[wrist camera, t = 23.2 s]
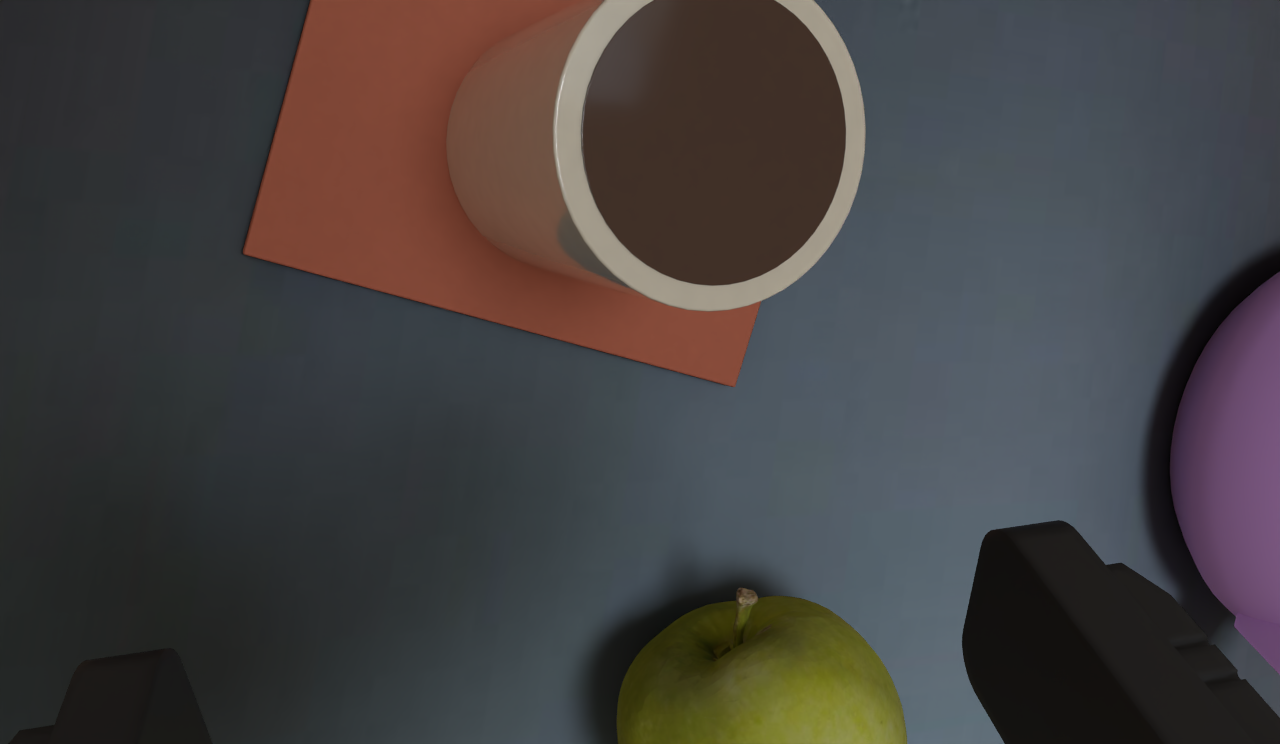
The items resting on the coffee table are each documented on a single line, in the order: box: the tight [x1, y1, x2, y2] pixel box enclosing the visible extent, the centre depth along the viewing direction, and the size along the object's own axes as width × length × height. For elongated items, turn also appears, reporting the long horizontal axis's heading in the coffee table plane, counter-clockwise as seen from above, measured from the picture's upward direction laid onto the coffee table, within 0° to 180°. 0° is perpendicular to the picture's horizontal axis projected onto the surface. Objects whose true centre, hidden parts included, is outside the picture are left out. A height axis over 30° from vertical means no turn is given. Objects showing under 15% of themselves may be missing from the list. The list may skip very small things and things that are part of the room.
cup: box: [446, 0, 866, 312], centre depth 23 cm, size 6×6×9 cm
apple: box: [617, 588, 907, 744], centre depth 28 cm, size 8×9×8 cm
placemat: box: [243, 0, 761, 387], centre depth 27 cm, size 14×10×1 cm
